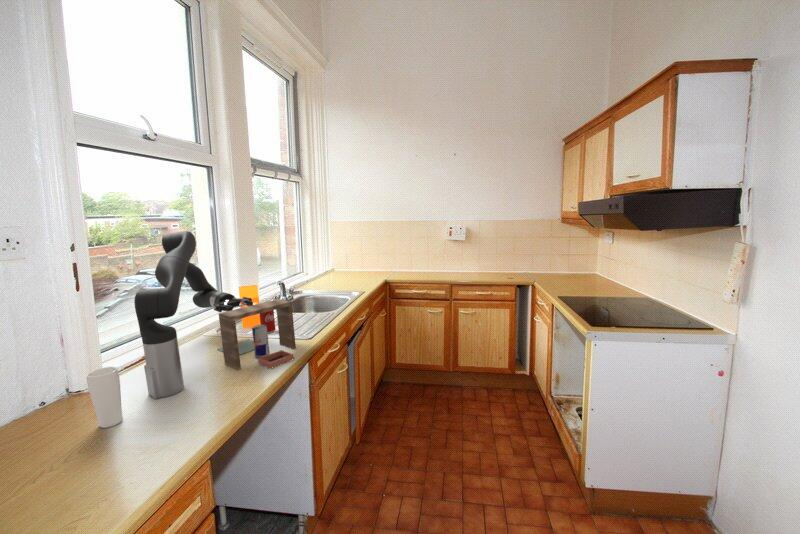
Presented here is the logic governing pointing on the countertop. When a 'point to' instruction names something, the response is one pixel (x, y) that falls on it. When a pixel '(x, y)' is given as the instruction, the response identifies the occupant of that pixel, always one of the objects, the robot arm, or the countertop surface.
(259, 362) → the pink tray
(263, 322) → the beverage can
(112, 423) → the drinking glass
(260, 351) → the energy drink
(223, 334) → the tunnel
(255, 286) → the orange juice
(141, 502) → the countertop surface
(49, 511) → the countertop surface
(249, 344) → the mat
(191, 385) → the countertop surface
